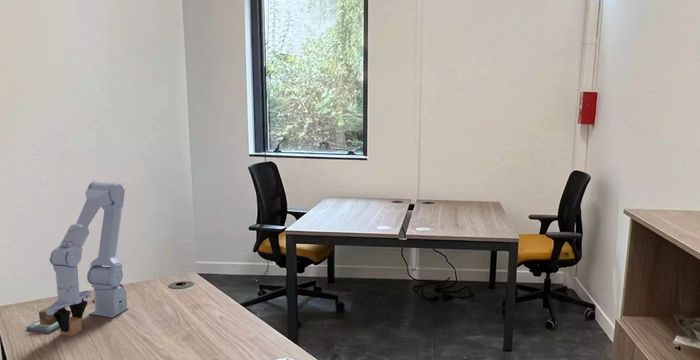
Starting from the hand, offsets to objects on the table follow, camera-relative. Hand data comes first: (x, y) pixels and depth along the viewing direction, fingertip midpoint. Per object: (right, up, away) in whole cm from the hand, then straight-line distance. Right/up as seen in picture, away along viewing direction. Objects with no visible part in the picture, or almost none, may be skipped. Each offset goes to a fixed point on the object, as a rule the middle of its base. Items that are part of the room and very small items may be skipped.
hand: (71, 327), depth 148 cm
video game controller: (-3, +3, +30) cm, 31 cm away
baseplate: (-9, -1, +5) cm, 10 cm away
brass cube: (-9, +1, +5) cm, 10 cm away
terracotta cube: (0, -1, 0) cm, 1 cm away
